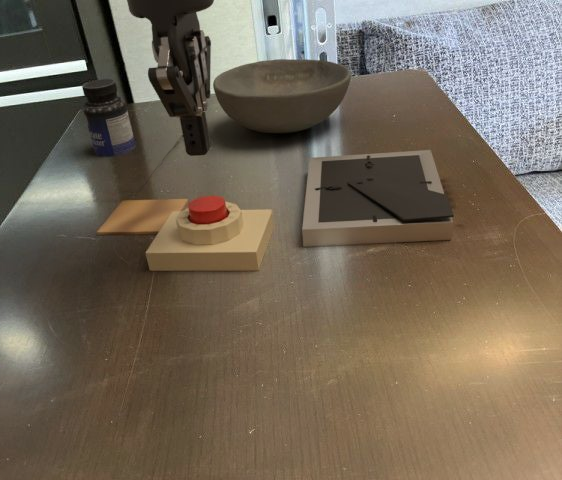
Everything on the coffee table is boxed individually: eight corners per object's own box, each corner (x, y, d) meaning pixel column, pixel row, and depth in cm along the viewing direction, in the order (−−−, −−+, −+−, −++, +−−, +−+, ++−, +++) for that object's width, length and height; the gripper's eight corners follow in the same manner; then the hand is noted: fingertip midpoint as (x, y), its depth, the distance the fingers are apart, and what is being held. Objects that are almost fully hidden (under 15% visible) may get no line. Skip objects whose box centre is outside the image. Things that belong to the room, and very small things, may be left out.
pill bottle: (91, 162, 95) (69, 85, 88) (126, 150, 98) (107, 74, 91) (110, 171, 91) (88, 92, 84) (146, 158, 94) (127, 80, 87)
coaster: (97, 235, 75) (96, 232, 75) (123, 203, 82) (122, 200, 82) (168, 234, 73) (167, 231, 73) (188, 201, 80) (188, 198, 80)
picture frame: (451, 240, 66) (429, 165, 82) (453, 215, 64) (431, 144, 80) (303, 247, 68) (310, 173, 84) (301, 223, 66) (308, 152, 82)
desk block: (149, 271, 67) (141, 237, 64) (176, 228, 74) (169, 196, 72) (258, 270, 65) (254, 235, 62) (274, 226, 72) (271, 193, 70)
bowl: (228, 112, 108) (221, 62, 103) (348, 101, 107) (347, 50, 102) (213, 156, 92) (204, 99, 87) (355, 145, 90) (354, 86, 85)
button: (186, 227, 66) (183, 211, 65) (196, 210, 69) (193, 195, 68) (222, 226, 65) (220, 211, 64) (231, 210, 68) (228, 194, 67)
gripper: (144, -58, 58) (181, 132, 69) (88, -39, 48) (143, 180, 59) (222, -67, 56) (248, 129, 67) (182, -49, 46) (220, 177, 57)
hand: (199, 152), depth 63 cm, fingers closed
